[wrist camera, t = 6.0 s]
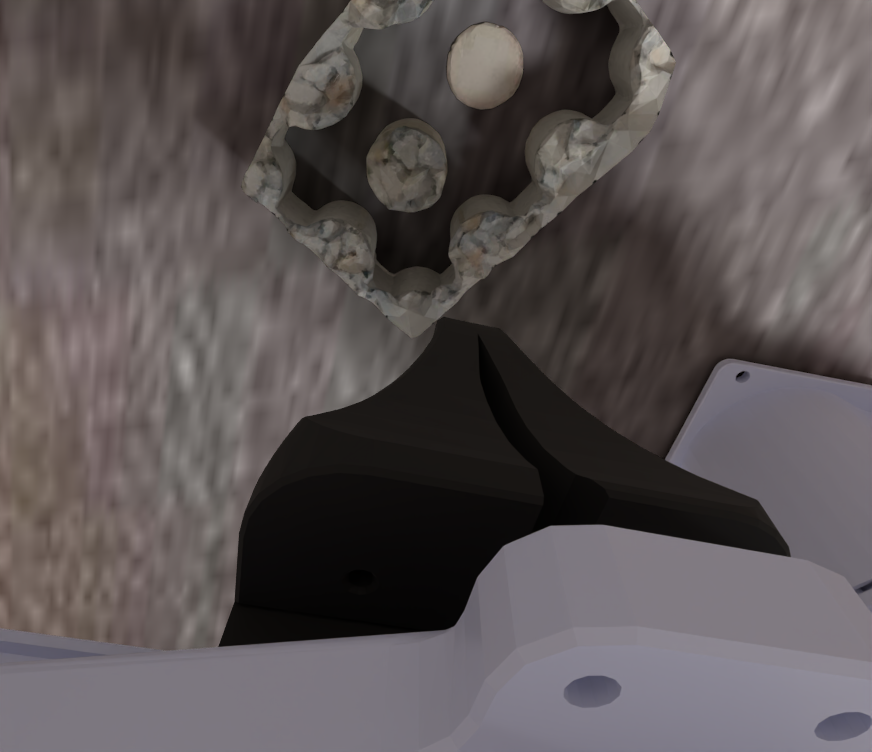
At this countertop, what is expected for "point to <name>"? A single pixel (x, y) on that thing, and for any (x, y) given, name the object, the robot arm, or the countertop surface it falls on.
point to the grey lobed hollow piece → (426, 157)
